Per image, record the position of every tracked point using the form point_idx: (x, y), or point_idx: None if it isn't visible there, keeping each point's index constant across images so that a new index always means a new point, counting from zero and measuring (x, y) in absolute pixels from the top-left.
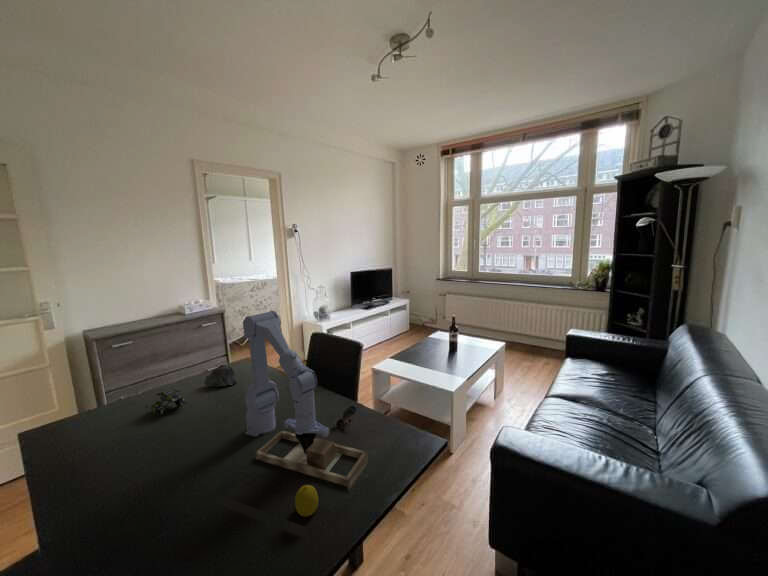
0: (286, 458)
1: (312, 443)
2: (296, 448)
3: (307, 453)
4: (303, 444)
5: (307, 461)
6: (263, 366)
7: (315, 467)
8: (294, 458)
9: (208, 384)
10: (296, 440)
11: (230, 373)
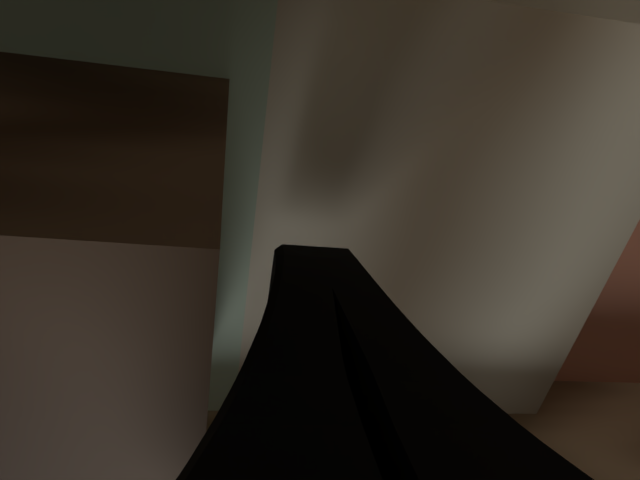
0: (636, 143)
1: None
2: (544, 335)
3: (173, 191)
4: (387, 396)
5: (211, 107)
6: None
7: (31, 56)
8: (510, 172)
9: None
10: (586, 429)
11: None
